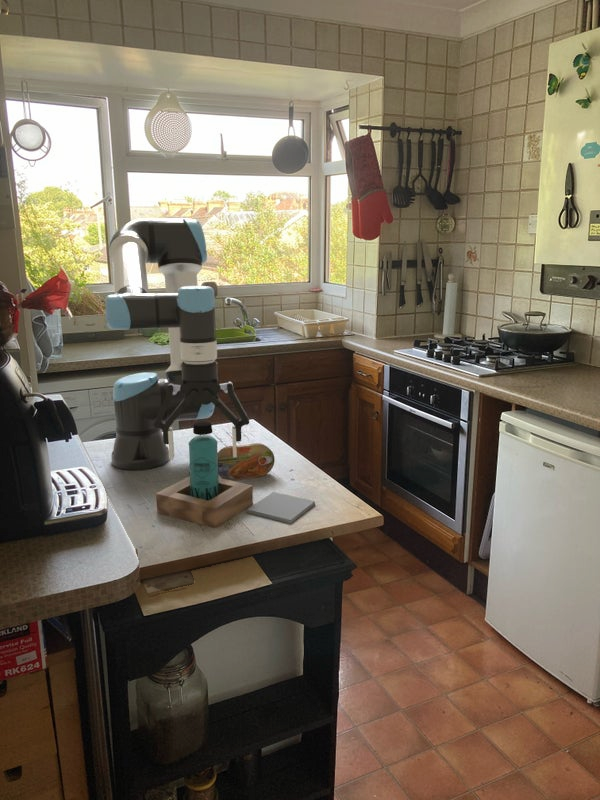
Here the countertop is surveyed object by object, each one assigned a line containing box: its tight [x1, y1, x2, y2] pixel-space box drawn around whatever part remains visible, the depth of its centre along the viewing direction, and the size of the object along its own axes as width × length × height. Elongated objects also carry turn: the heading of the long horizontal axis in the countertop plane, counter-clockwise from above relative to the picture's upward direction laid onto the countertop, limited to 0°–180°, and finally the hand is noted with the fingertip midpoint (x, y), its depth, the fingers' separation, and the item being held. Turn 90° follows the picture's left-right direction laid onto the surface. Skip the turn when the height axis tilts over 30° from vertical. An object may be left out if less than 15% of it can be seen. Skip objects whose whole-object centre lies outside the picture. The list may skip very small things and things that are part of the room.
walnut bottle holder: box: [155, 475, 254, 529], centre depth 141 cm, size 16×14×4 cm
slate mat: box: [246, 491, 316, 524], centre depth 141 cm, size 11×11×1 cm
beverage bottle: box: [188, 420, 220, 501], centre depth 139 cm, size 6×7×20 cm
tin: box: [217, 442, 276, 481], centre depth 159 cm, size 15×3×8 cm, turn 105°
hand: (203, 456), depth 138 cm, fingers open, 13 cm apart
